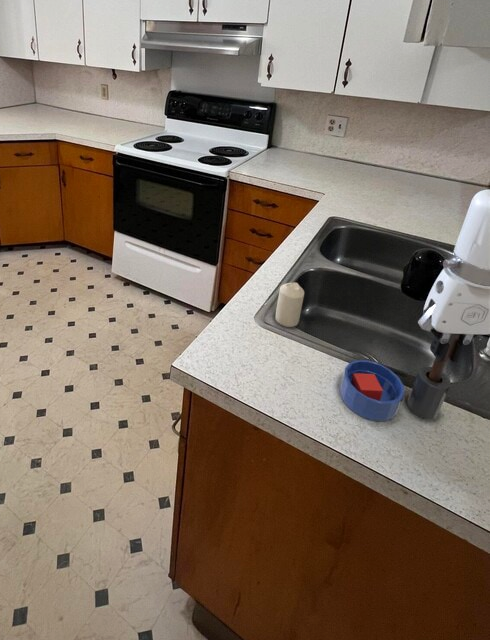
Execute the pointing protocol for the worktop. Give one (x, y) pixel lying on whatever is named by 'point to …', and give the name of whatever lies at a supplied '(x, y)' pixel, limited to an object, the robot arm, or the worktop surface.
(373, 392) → the red block
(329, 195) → the worktop surface
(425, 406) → the utensil holder
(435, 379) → the stirring stick
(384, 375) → the bowl
